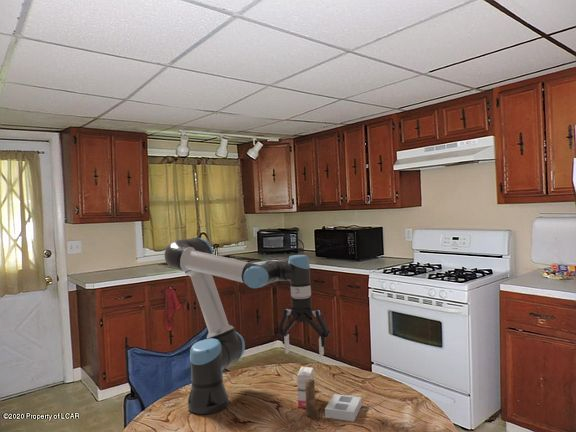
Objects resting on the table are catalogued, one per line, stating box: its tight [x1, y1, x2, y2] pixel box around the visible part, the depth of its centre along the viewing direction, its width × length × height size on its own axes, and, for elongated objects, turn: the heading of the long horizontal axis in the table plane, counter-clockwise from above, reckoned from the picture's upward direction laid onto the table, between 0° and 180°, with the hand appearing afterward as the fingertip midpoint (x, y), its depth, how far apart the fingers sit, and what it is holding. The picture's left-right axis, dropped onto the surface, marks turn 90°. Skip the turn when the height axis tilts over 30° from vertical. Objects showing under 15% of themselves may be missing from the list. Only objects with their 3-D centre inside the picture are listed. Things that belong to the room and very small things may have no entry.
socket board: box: [324, 393, 363, 422], centre depth 146 cm, size 10×12×3 cm
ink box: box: [296, 366, 314, 408], centre depth 154 cm, size 9×5×12 cm, turn 168°
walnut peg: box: [305, 379, 317, 419], centre depth 144 cm, size 3×3×12 cm
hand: (304, 353), depth 154 cm, fingers open, 13 cm apart
